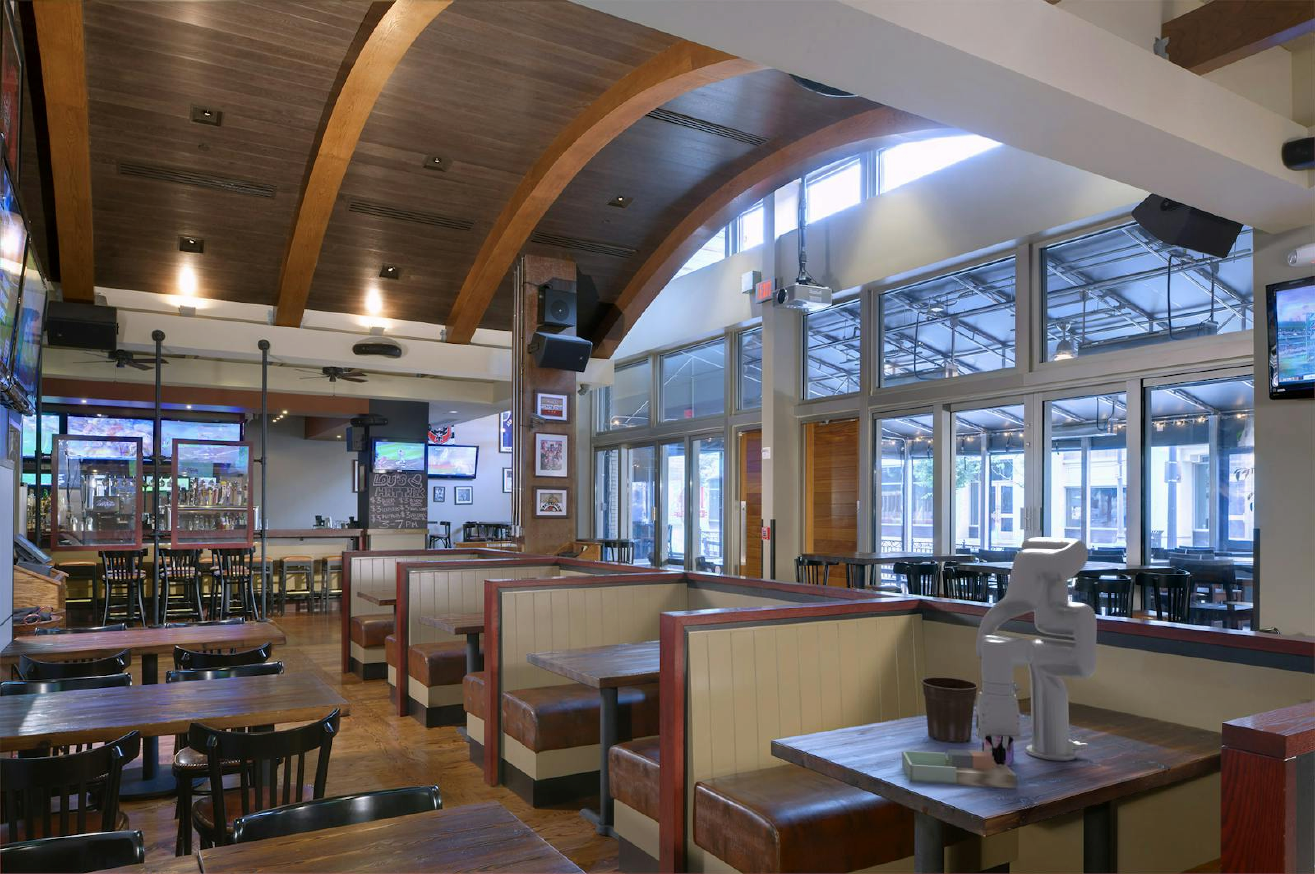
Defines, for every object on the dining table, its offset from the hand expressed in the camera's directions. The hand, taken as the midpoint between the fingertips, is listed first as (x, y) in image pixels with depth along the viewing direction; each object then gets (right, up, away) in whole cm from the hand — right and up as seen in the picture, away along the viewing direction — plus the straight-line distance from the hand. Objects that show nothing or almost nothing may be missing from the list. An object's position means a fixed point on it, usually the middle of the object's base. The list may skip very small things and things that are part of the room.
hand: (999, 762), depth 212 cm
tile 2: (-4, -1, +1) cm, 5 cm away
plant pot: (+1, -8, +38) cm, 39 cm away
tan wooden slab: (-5, -4, 0) cm, 6 cm away
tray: (-17, -4, +2) cm, 18 cm away
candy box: (+5, -5, +13) cm, 15 cm away
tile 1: (-9, -1, +1) cm, 9 cm away
